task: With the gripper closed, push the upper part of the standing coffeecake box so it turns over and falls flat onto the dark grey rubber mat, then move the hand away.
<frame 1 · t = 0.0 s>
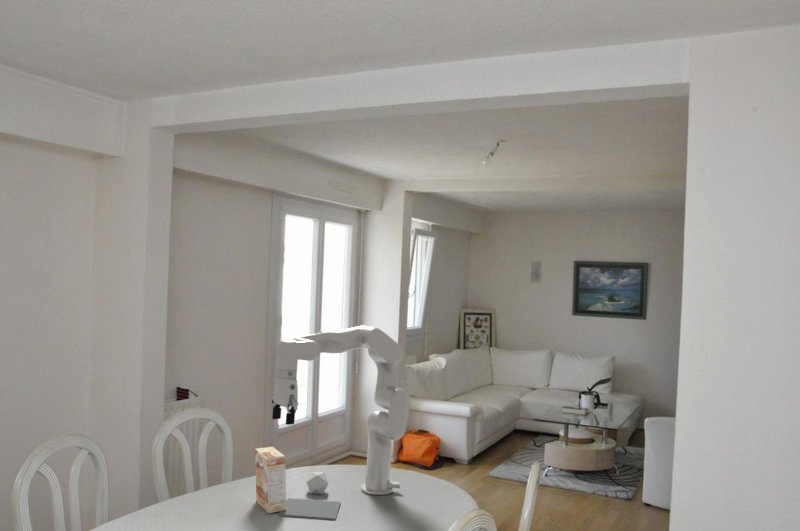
hand: (283, 421, 255), 31 cm above the table, tool pointing down, fingers open, 9 cm apart
mat: (310, 509, 255), on the table
coffeecake box: (271, 506, 255), on the table, touching mat
die: (316, 493, 275), on the table
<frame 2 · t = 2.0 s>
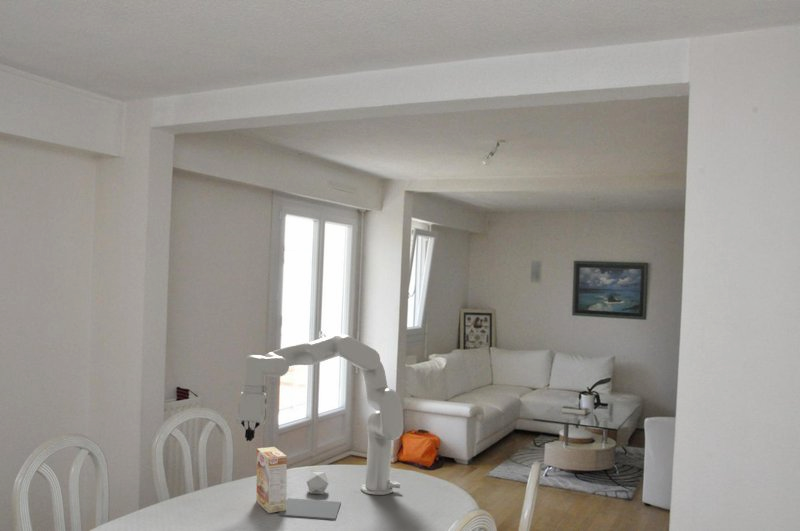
hand: (249, 440, 256), 24 cm above the table, tool pointing down, fingers closed
nothing on the table moved.
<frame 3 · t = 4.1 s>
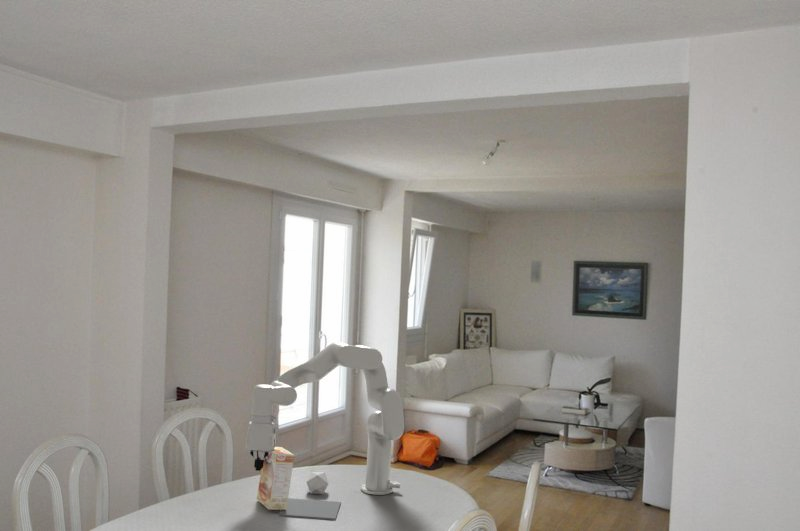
hand: (258, 469, 256), 13 cm above the table, tool pointing down, fingers closed
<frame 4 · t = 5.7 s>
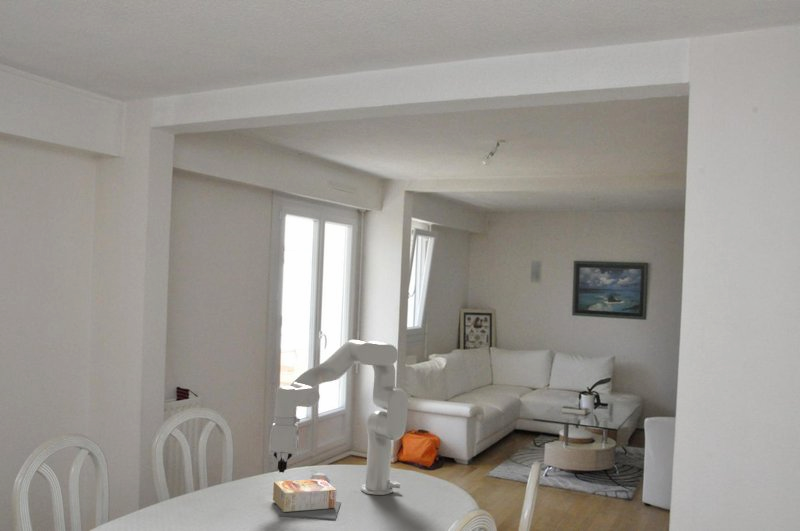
hand: (281, 471, 256), 13 cm above the table, tool pointing down, fingers closed
coffeecake box: (278, 496, 254), point 4 cm above the table, touching mat
die: (318, 489, 276), point 1 cm above the table
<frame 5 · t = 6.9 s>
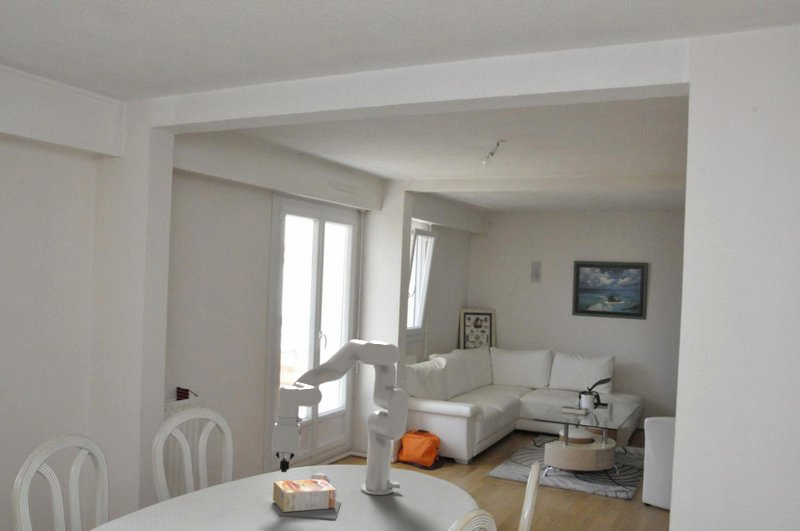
hand: (284, 471, 256), 13 cm above the table, tool pointing down, fingers closed
nothing on the table moved.
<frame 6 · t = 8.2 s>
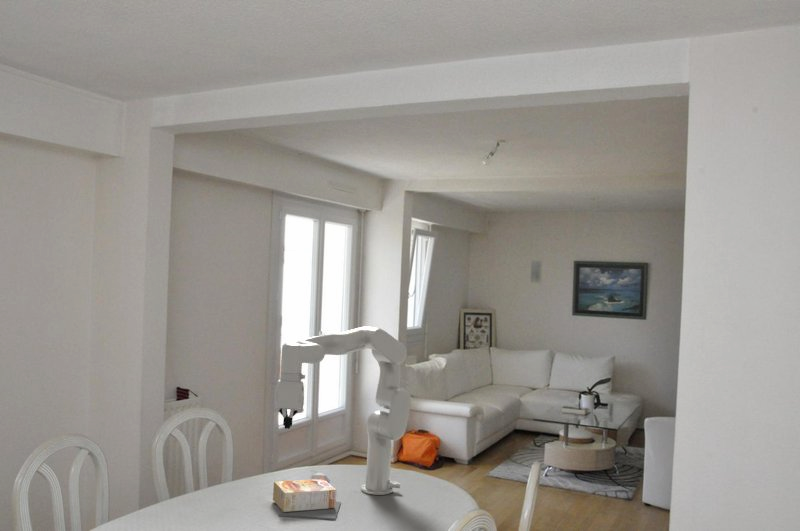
hand: (287, 427, 256), 29 cm above the table, tool pointing down, fingers closed
nothing on the table moved.
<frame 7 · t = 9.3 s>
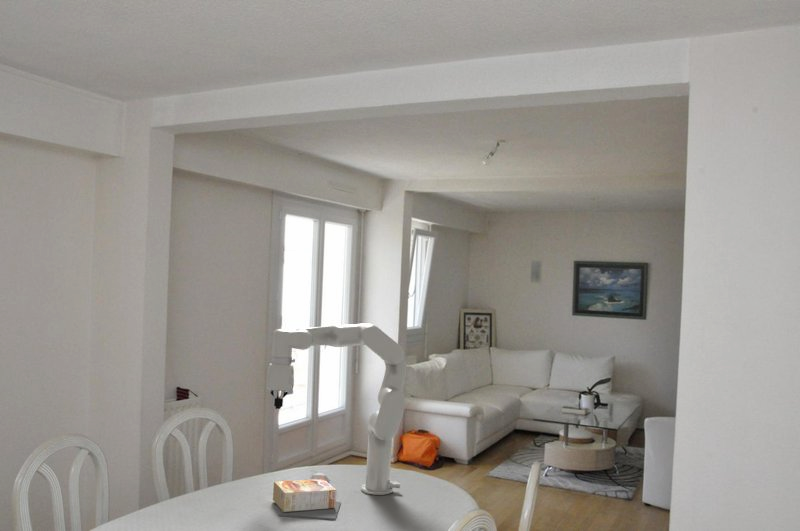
hand: (278, 408, 274), 32 cm above the table, tool pointing down, fingers closed
nothing on the table moved.
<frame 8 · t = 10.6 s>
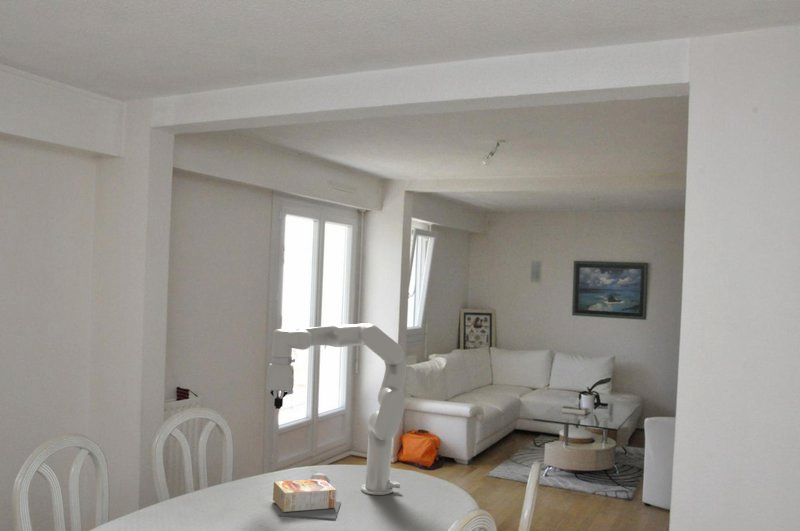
hand: (278, 408, 274), 32 cm above the table, tool pointing down, fingers closed
nothing on the table moved.
at the end: coffeecake box tilted 91°; coffeecake box inside the target area (10.5 cm from its centre), point 4.2 cm above the table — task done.
